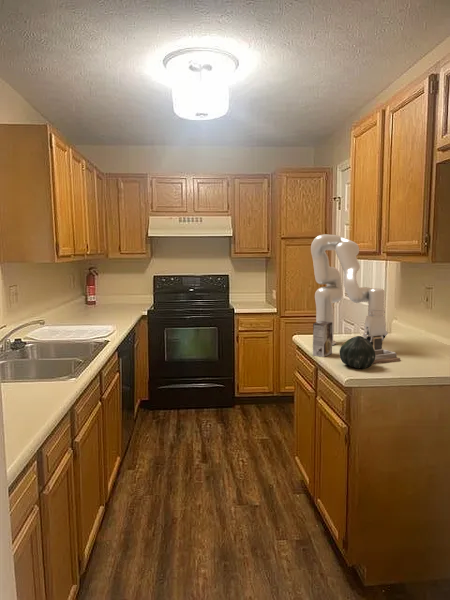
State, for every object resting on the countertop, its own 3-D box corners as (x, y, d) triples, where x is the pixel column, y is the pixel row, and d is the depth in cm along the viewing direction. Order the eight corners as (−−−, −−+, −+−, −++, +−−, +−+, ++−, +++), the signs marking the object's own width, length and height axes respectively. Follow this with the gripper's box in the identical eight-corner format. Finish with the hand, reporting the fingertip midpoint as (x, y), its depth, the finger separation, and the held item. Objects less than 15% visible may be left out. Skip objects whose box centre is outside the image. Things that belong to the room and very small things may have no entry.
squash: (350, 348, 200) (343, 327, 191) (382, 354, 191) (376, 332, 182) (339, 372, 193) (331, 352, 184) (372, 379, 184) (365, 359, 175)
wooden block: (368, 351, 216) (368, 336, 215) (376, 351, 218) (376, 335, 217) (373, 353, 212) (374, 337, 211) (382, 352, 214) (382, 337, 213)
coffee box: (320, 352, 217) (321, 320, 215) (332, 353, 213) (333, 321, 211) (312, 355, 210) (312, 323, 208) (324, 357, 206) (324, 324, 204)
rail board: (353, 357, 204) (354, 345, 204) (380, 354, 210) (381, 342, 209) (372, 364, 192) (372, 350, 191) (400, 360, 198) (400, 347, 197)
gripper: (384, 311, 220) (383, 346, 222) (357, 313, 214) (356, 348, 216) (394, 313, 213) (393, 348, 215) (367, 315, 207) (366, 351, 209)
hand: (374, 348), depth 215 cm, fingers closed on wooden block, 4 cm apart
